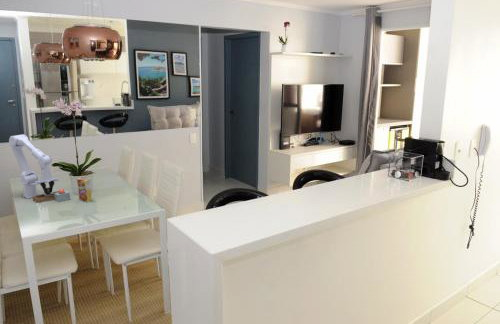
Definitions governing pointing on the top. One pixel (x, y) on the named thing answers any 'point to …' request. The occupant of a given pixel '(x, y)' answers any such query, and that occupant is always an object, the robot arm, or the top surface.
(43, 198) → the rail
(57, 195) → the button housing
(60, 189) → the button
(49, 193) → the carriage
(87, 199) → the candy box
